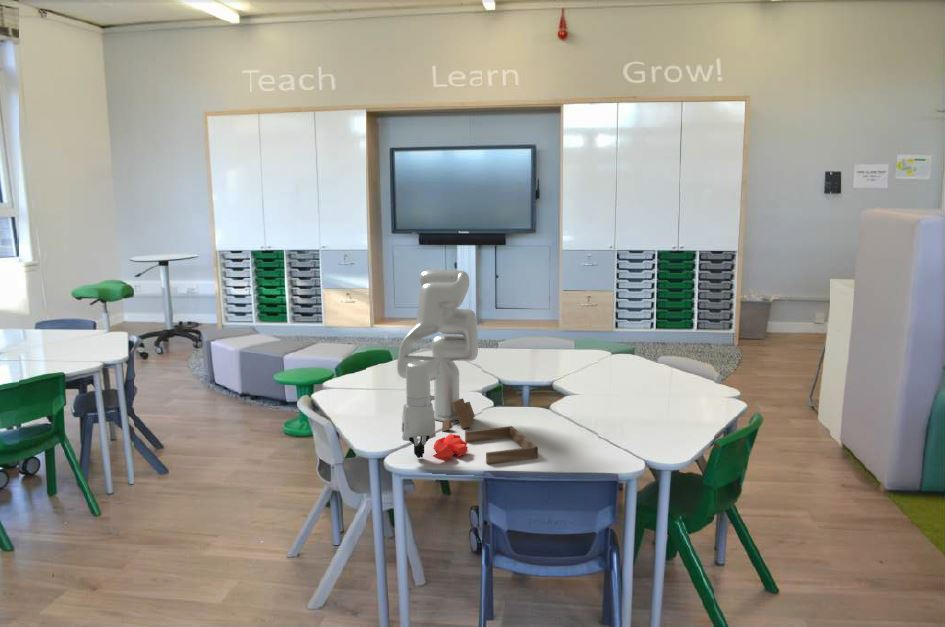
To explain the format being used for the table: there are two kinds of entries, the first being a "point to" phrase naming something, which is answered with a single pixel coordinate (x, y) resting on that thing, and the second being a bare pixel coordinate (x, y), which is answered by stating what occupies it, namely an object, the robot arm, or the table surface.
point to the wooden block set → (461, 415)
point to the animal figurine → (449, 447)
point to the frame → (505, 455)
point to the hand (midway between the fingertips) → (419, 456)
